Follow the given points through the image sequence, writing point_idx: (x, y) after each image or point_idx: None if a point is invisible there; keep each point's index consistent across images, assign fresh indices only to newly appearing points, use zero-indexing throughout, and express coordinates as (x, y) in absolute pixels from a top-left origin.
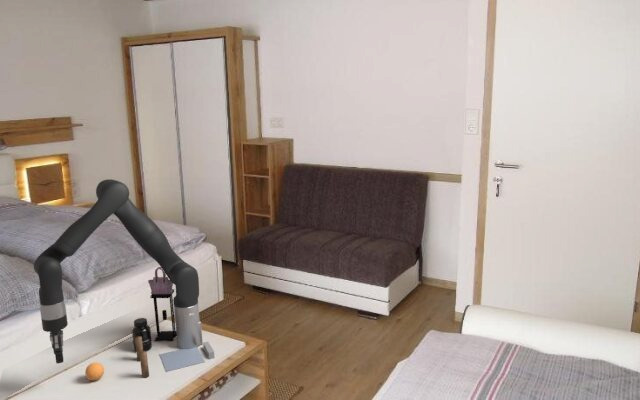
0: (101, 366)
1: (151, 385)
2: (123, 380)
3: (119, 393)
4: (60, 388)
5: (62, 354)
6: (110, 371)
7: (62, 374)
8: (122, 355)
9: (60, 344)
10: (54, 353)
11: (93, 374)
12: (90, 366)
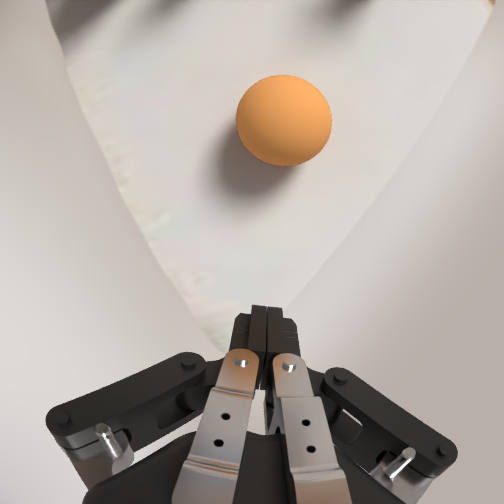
0: (303, 82)
1: (437, 2)
2: (361, 39)
3: (442, 89)
4: (269, 265)
5: (284, 341)
6: (246, 58)
7: (154, 244)
8: (134, 14)
9: (456, 453)
10: (340, 416)
11: (329, 134)
12: (299, 136)
